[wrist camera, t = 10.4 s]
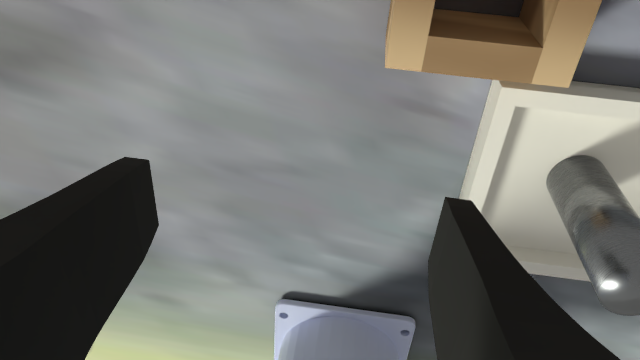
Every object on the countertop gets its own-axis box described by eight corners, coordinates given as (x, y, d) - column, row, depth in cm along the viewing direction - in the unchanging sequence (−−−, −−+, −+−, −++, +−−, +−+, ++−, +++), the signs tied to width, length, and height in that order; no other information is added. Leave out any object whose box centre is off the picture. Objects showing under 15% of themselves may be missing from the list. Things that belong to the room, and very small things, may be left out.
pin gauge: (596, 202, 22) (665, 318, 16) (540, 200, 22) (589, 312, 17) (614, 156, 20) (693, 265, 15) (553, 153, 21) (611, 260, 15)
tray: (630, 266, 24) (643, 288, 23) (446, 242, 25) (449, 262, 23) (729, 98, 19) (752, 115, 18) (494, 72, 19) (501, 87, 18)
